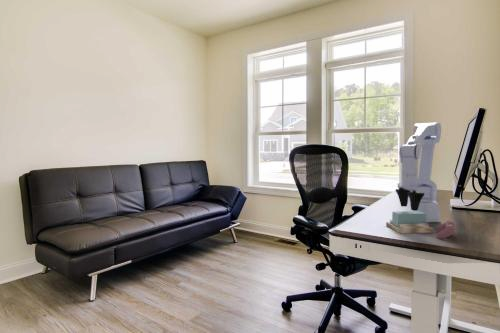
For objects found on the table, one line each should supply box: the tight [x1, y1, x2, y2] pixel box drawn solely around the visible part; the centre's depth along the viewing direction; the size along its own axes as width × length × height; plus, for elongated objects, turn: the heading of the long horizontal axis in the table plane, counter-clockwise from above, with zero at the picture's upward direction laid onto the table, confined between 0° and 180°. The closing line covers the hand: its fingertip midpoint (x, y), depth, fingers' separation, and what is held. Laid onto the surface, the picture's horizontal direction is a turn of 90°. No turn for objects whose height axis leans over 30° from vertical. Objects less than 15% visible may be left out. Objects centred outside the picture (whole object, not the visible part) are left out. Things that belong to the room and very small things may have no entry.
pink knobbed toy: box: [435, 220, 457, 240], centre depth 109 cm, size 10×5×7 cm, turn 149°
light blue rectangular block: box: [391, 210, 427, 227], centre depth 119 cm, size 11×4×5 cm, turn 92°
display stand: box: [385, 218, 434, 234], centre depth 119 cm, size 13×11×3 cm
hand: (409, 208), depth 119 cm, fingers open, 7 cm apart
